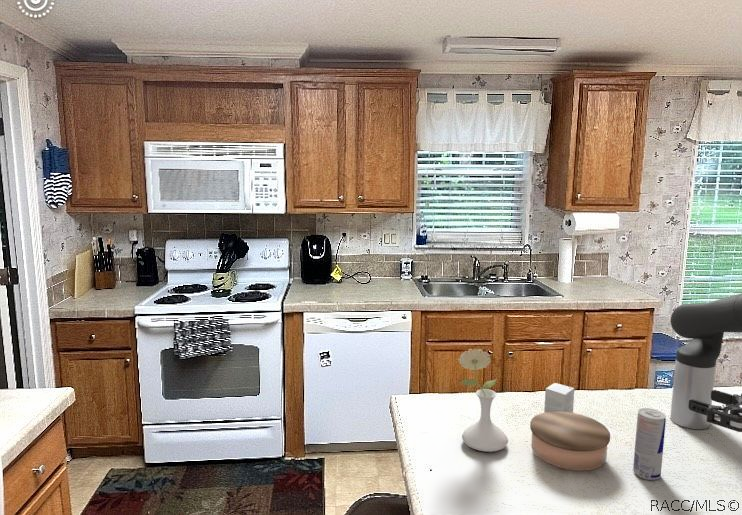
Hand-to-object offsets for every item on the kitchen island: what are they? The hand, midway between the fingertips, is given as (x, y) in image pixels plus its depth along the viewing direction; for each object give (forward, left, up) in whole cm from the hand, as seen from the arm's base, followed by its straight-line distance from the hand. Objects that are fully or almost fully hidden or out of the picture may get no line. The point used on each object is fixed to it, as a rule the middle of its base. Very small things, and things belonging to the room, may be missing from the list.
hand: (700, 399), depth 108 cm
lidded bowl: (-4, -26, -22) cm, 34 cm away
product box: (-27, -33, -22) cm, 48 cm away
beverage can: (-5, -9, -22) cm, 25 cm away
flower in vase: (+1, -46, -22) cm, 51 cm away
